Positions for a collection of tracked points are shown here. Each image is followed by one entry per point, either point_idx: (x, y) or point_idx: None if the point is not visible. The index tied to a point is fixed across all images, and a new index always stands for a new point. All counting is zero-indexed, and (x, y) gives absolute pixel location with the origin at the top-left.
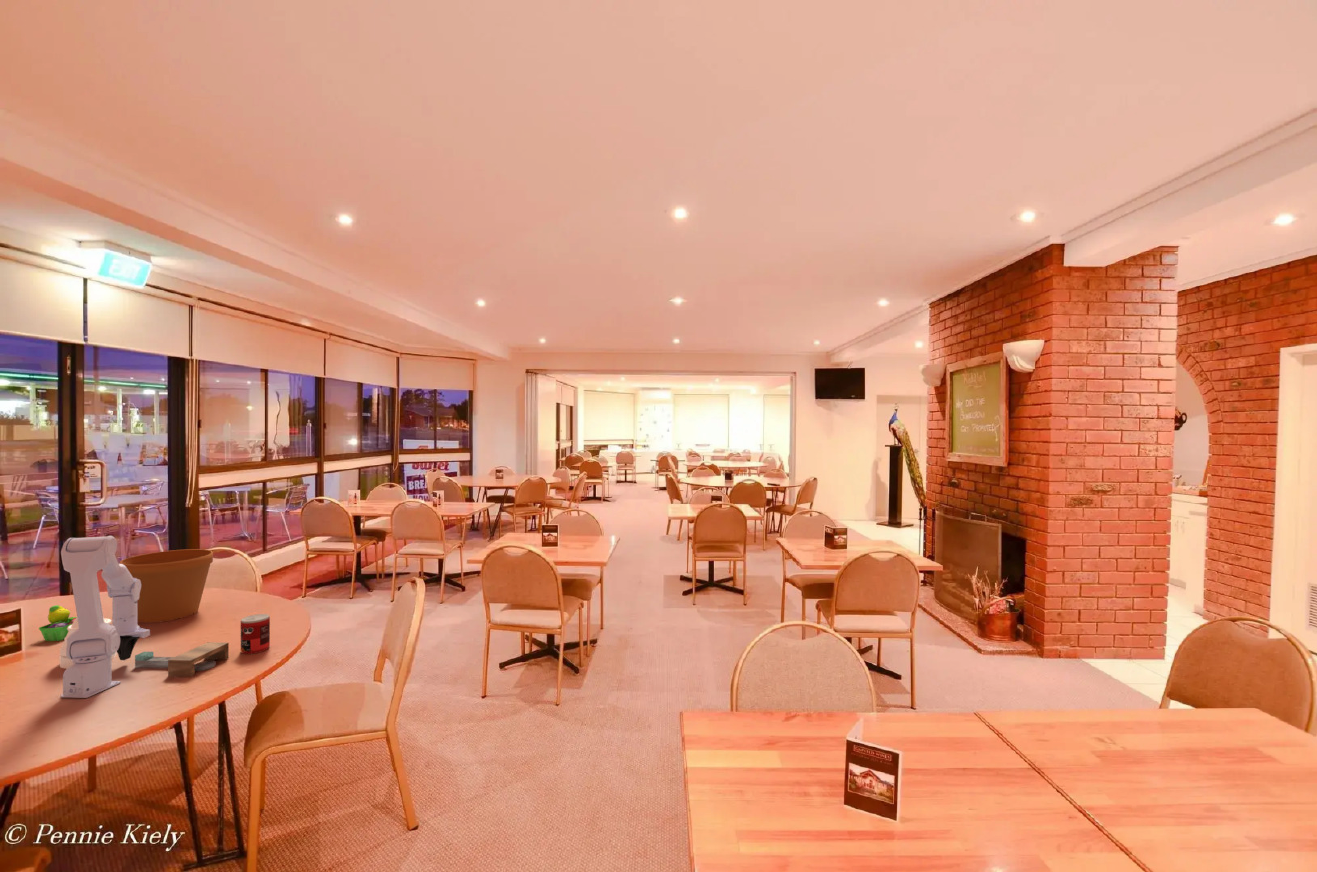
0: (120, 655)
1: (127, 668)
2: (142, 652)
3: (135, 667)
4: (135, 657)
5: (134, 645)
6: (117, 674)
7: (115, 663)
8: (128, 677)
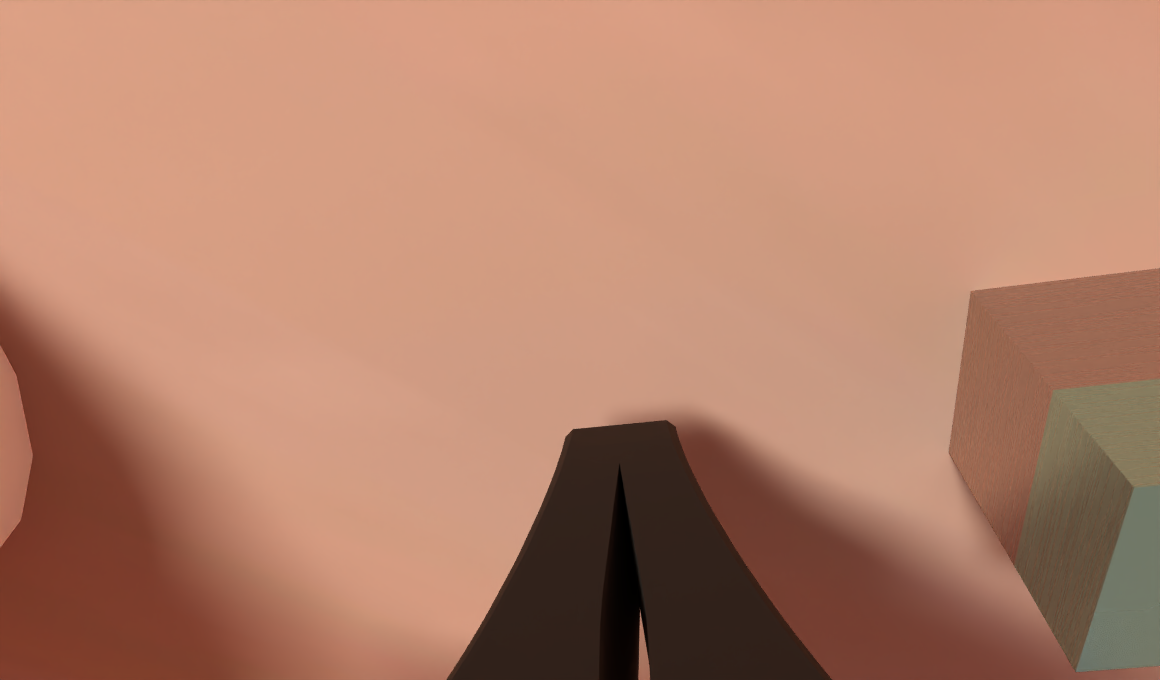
0: (636, 659)
1: (828, 489)
2: (1128, 533)
3: (960, 457)
4: (1059, 623)
5: (799, 642)
6: (884, 641)
7: (337, 374)
8: (1150, 677)
